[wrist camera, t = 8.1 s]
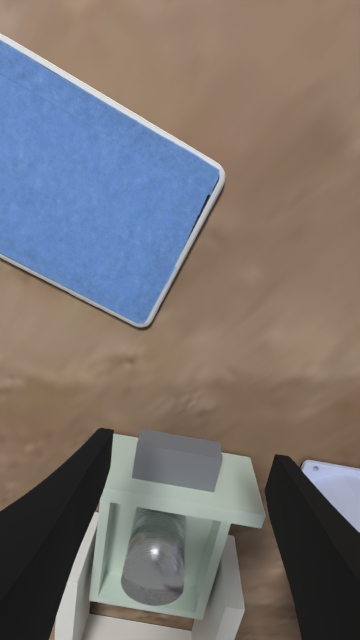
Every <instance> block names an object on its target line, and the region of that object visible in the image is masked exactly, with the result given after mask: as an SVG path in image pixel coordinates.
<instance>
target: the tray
mask: <svg viewBox="0 0 360 640" xmlns="http://www.w3.org/2000/svg"><path fill="white" fill-rule="evenodd" d="M99 501H100V507H99V516H98V525H97V533H96V542H95V551H94V560H93V568H92V577H91V586H90V594H89V601H94V602H100V603H106V604H112V605H117V606H123V607H129V608H135V609H141V610H147V611H152V612H158V613H164V614H170V615H176V616H182V617H187V618H193V619H199V620H202V619H203V616H204V612H205V609H206V606H207V602H208V599H209V596H210V592H211V589H212V586H213V582H214V579H215V576H216V572H217V569H218V566H219V562H220V559H221V556H222V552H223V549H224V545H225V542H226V539H227V535H228V532H229V529H230V525H231V523H232V524H238V525H244V526H249V527H255V528H262V525H263V522H264V519H265V516H266V515H265V511H264V507H263V503H262V500H261V496H260V492H259V489H258V485H257V481H256V478H255V474H254V470H253V467H252V463H251V459H250V457H245V456H239V455H233V454H228V453H222V450H221V443H220V442H215V441H209V440H204V439H198V438H192V437H187V436H181V435H175V434H169V433H164V432H158V431H152V430H147V429H141V431H140V434H139V438H136V437H130V436H125V435H119V434H113V444H112V456H111V467H110V471H109V474H108V477H107V481H106V484H105V487H104V490H103V493H102V496H101V498H100V500H99ZM137 507H140V508H146V509H151V510H157V511H163V512H169V513H174V514H180V515H186V531H185V570H184V590H183V593H182V594H181V596H180V597H179V598H178V599H177V600H175V601H174V602H172V603H169V604H166V605H160V606H151V605H145V604H142V603H139V602H137V601H135V600H133V599H132V598H130V597H129V596H128V595H127V594H126V593H125V592H124V590H123V588H122V586H121V576H122V572H123V567H124V562H125V558H126V553H127V548H128V544H129V539H130V534H131V530H132V525H133V521H134V516H135V511H136V509H137Z"/></svg>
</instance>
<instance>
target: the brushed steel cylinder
mask: <svg viewBox="0 0 360 640" xmlns="http://www.w3.org/2000/svg"><path fill="white" fill-rule="evenodd" d="M185 531H186V515H180V514H174V513H169V512H163V511H157V510H151V509H146V508H140V507H137V509H136V511H135V516H134V521H133V525H132V530H131V534H130V539H129V544H128V548H127V553H126V558H125V562H124V567H123V572H122V576H121V586H122V588H123V590H124V592H125V593H126V594H127V595H128V596H129V597H130V598H132V599H133V600H135V601H137V602H139V603H142V604H145V605H151V606H160V605H166V604H169V603H172V602H174V601H175V600H177V599H178V598H179V597H180V596H181V594H182V593H183V590H184V570H185Z"/></svg>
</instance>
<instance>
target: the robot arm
mask: <svg viewBox="0 0 360 640" xmlns="http://www.w3.org/2000/svg"><path fill="white" fill-rule="evenodd" d="M113 433H114V430H110V429H104V428H99V429H98V430H97V431H96V432H95V433H94V434H93V435H92V436H91V437H90V438H89V439H88V440H87V441H86V443H85V444H84V445H83V446H82V447H81V448H80V449H79V450H77V451H76V452H75V453H74V454H73V455H72V456H71V457H70V458H69V459H68V460H67V461H66V462H65V463H64V464H62V465H61V466H60V467H59V468H58V469H57V470H55V471H54V472H53V473H52V474H51V475H50V476H48V477H47V478H46V479H45V480H44V481H42V482H41V483H40V484H38V485H37V486H36V487H35V488H33V489H32V490H31V491H29V492H28V493H26V494H25V495H24V496H22V497H21V498H19V499H18V500H17V501H15V502H14V503H12V504H11V505H9V506H8V507H6V508H5V509H3V510H2V511H0V640H49V637H50V634H51V631H52V628H53V625H54V622H55V618H56V615H57V612H58V609H59V606H60V603H61V600H62V597H63V594H64V591H65V588H66V585H67V582H68V579H69V576H70V573H71V570H72V567H73V564H74V561H75V558H76V556H77V553H78V551H79V548H80V546H81V543H82V541H83V539H84V536H85V534H86V531H87V529H88V527H89V524H90V522H91V520H92V517H93V515H94V512H95V510H96V508H97V505H98V503H99V500H100V498H101V496H102V493H103V490H104V487H105V484H106V481H107V477H108V474H109V471H110V467H111V456H112V444H113ZM315 466H316V467H315ZM313 467H315V468H313ZM265 496H266V501H267V507H268V512H269V517H270V521H271V524H272V528H273V531H274V534H275V538H276V541H277V544H278V548H279V551H280V554H281V558H282V561H283V564H284V567H285V571H286V574H287V577H288V581H289V584H290V588H291V592H292V596H293V600H294V604H295V609H296V613H297V618H298V623H299V627H300V632H301V637H302V640H360V469H358V468H353V467H347V466H341V465H336V464H330V463H324V462H318V461H313V460H306V461H304V462H303V464H302V466H301V469H300V468H299V467H298V466H297V465H296V463H295V462H294V461H293V460H292V459H291V458H290V457H289V456H284V455H277V454H275V457H274V460H273V464H272V467H271V471H270V474H269V477H268V481H267V484H266V488H265Z"/></svg>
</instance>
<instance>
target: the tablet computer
mask: <svg viewBox="0 0 360 640" xmlns="http://www.w3.org/2000/svg"><path fill="white" fill-rule="evenodd" d="M224 183H225V172H224V170H223V168H222V167H221V165H219V164H218V163H217V162H215V161H214V160H212V159H210V158H209V157H207V156H205V155H204V154H202V153H200V152H199V151H197V150H195V149H194V148H192V147H190V146H189V145H187V144H186V143H184V142H182V141H180V140H179V139H177V138H175V137H174V136H172V135H170V134H169V133H167V132H165V131H164V130H162V129H160V128H159V127H157V126H155V125H153V124H152V123H150V122H149V121H147V120H145V119H144V118H142V117H140V116H139V115H137V114H135V113H134V112H132V111H130V110H129V109H127V108H125V107H124V106H122V105H120V104H119V103H117V102H115V101H114V100H112V99H110V98H109V97H107V96H105V95H104V94H102V93H100V92H99V91H97V90H95V89H94V88H92V87H90V86H89V85H87V84H85V83H84V82H82V81H80V80H79V79H77V78H75V77H74V76H72V75H70V74H68V73H67V72H65V71H63V70H62V69H60V68H58V67H57V66H55V65H54V64H52V63H50V62H49V61H47V60H45V59H43V58H42V57H40V56H38V55H37V54H35V53H33V52H32V51H30V50H28V49H26V48H25V47H23V46H21V45H20V44H18V43H16V42H14V41H13V40H11V39H9V38H7V37H6V36H4V35H2V34H1V33H0V258H2V259H3V260H5V261H7V262H9V263H11V264H13V265H15V266H17V267H19V268H21V269H23V270H25V271H27V272H29V273H31V274H33V275H35V276H37V277H39V278H41V279H43V280H45V281H47V282H49V283H51V284H53V285H55V286H57V287H59V288H61V289H63V290H65V291H67V292H68V293H70V294H71V295H73V296H75V297H77V298H79V299H82V300H84V301H86V302H87V303H89V304H91V305H93V306H95V307H98V308H100V309H102V310H104V311H105V312H107V313H109V314H111V315H114V316H116V317H118V318H120V319H122V320H124V321H126V322H128V323H130V324H132V325H133V326H136V327H146V326H148V325H149V324H150V323H151V322H152V320H153V319H154V317H155V315H156V313H157V311H158V309H159V306H160V304H161V303H162V301H163V300H164V298H165V296H166V294H167V292H168V290H169V288H170V286H171V284H172V282H173V280H174V278H175V277H176V275H177V273H178V271H179V269H180V267H181V265H182V263H183V261H184V260H185V258H186V256H187V254H188V252H189V250H190V248H191V246H192V244H193V242H194V241H195V239H196V237H197V235H198V233H199V231H200V229H201V227H202V225H203V224H204V222H205V220H206V218H207V216H208V214H209V212H210V211H211V209H212V207H213V205H214V203H215V201H216V199H217V197H218V195H219V194H220V192H221V190H222V188H223V186H224Z"/></svg>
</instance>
